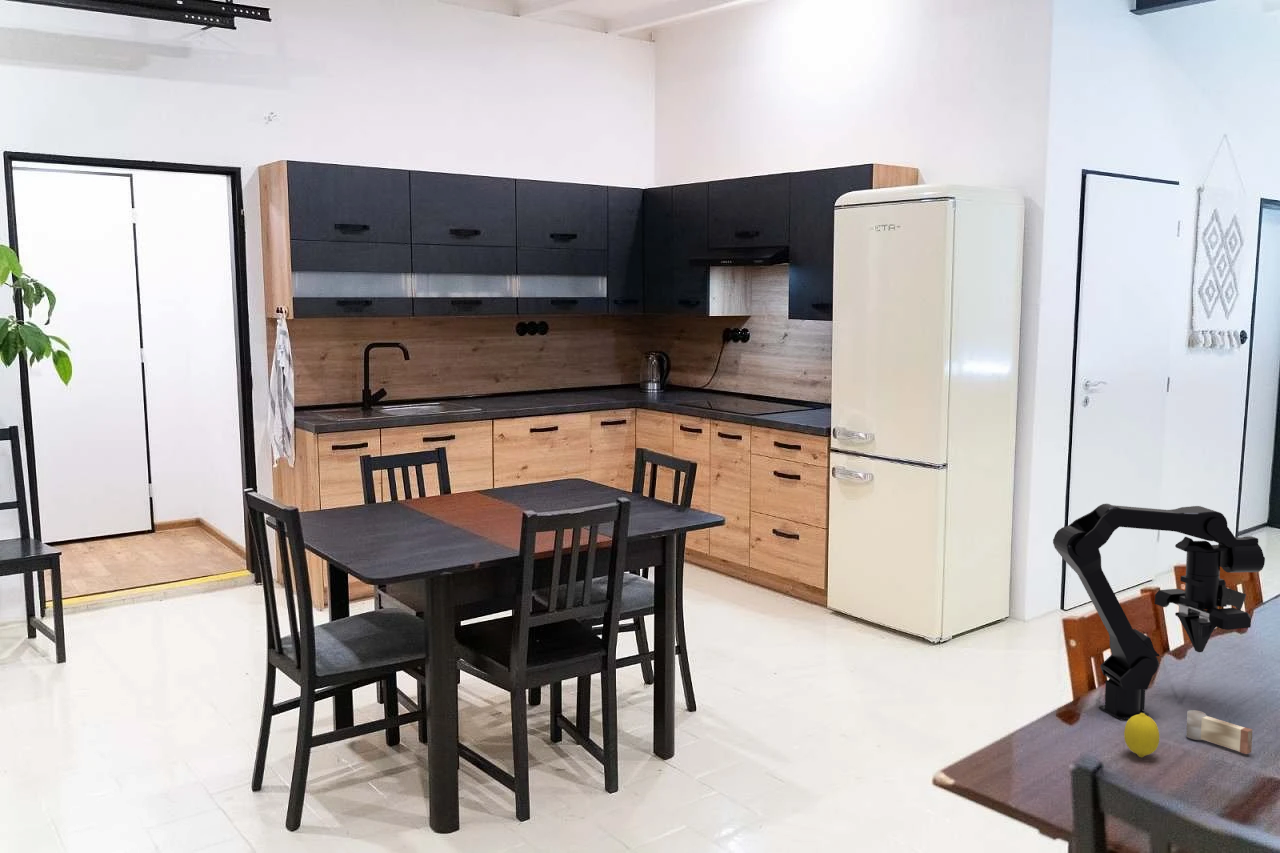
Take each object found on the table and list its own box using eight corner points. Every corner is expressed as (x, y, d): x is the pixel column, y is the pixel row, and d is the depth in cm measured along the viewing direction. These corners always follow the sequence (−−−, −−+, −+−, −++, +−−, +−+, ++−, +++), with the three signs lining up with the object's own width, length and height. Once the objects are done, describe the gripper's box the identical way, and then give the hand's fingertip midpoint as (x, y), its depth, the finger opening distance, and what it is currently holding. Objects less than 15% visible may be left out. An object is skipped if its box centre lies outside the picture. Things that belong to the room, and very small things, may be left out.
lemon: (1156, 766, 177) (1158, 721, 176) (1121, 759, 180) (1123, 715, 179) (1160, 754, 181) (1161, 711, 181) (1125, 748, 184) (1127, 705, 183)
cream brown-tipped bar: (1183, 735, 188) (1184, 712, 188) (1191, 732, 190) (1192, 709, 190) (1244, 756, 179) (1246, 731, 179) (1253, 751, 181) (1254, 727, 181)
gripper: (1277, 581, 191) (1273, 663, 192) (1201, 559, 209) (1198, 634, 210) (1227, 586, 188) (1223, 668, 190) (1154, 562, 206) (1151, 638, 208)
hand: (1199, 651), depth 200 cm, fingers closed
